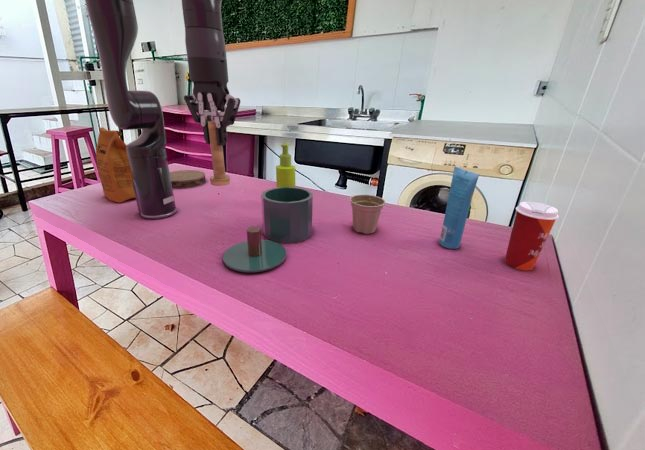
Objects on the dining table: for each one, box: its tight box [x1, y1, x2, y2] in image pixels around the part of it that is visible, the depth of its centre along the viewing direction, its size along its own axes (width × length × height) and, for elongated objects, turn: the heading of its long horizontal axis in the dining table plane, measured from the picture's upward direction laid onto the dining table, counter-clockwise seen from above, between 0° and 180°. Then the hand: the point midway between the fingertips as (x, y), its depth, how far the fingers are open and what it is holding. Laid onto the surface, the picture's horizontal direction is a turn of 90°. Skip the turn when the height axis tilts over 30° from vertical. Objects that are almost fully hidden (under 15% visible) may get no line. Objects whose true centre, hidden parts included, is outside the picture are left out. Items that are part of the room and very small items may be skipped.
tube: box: [438, 166, 480, 250], centre depth 72 cm, size 7×5×19 cm, turn 26°
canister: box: [260, 186, 314, 244], centre depth 78 cm, size 13×13×11 cm
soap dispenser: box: [275, 142, 296, 188], centre depth 94 cm, size 6×7×20 cm
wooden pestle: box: [208, 120, 231, 187], centre depth 68 cm, size 4×4×14 cm
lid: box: [222, 226, 287, 273], centre depth 66 cm, size 14×14×7 cm
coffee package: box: [95, 126, 136, 203], centre depth 96 cm, size 10×12×22 cm
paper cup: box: [504, 201, 560, 272], centre depth 66 cm, size 8×8×14 cm
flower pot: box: [349, 194, 386, 235], centre depth 81 cm, size 9×9×9 cm
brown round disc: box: [169, 169, 207, 190], centre depth 117 cm, size 16×16×3 cm
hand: (216, 144), depth 68 cm, fingers closed on wooden pestle, 2 cm apart
